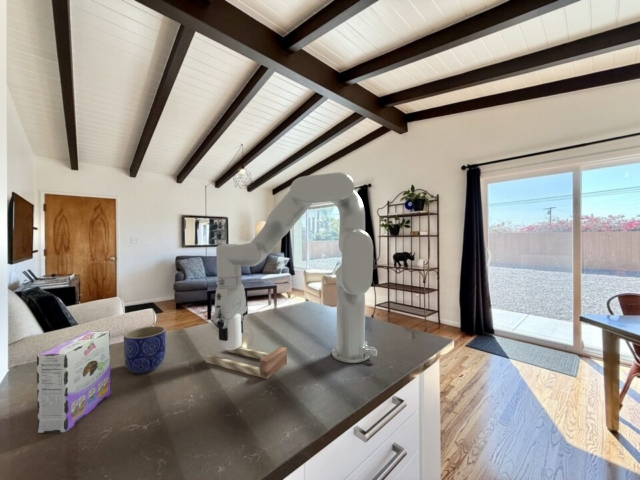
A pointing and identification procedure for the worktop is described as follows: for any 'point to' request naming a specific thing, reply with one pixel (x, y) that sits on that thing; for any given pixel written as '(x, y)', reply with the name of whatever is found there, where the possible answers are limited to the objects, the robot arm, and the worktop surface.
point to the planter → (144, 348)
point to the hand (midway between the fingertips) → (231, 335)
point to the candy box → (72, 380)
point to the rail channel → (267, 360)
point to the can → (233, 334)
